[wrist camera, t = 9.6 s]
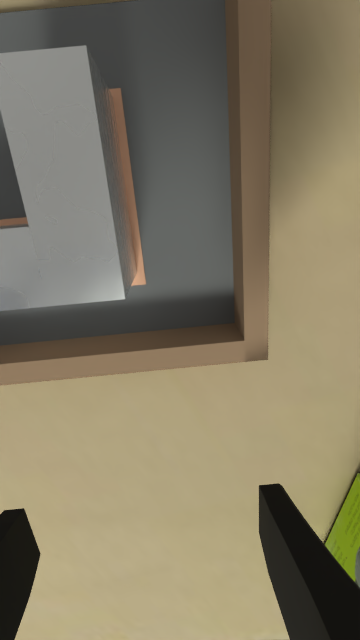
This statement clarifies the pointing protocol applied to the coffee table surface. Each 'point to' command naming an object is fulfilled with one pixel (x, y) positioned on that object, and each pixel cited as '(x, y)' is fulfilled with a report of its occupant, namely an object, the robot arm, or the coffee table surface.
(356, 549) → the box
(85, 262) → the l block
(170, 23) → the arena
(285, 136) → the coffee table surface
